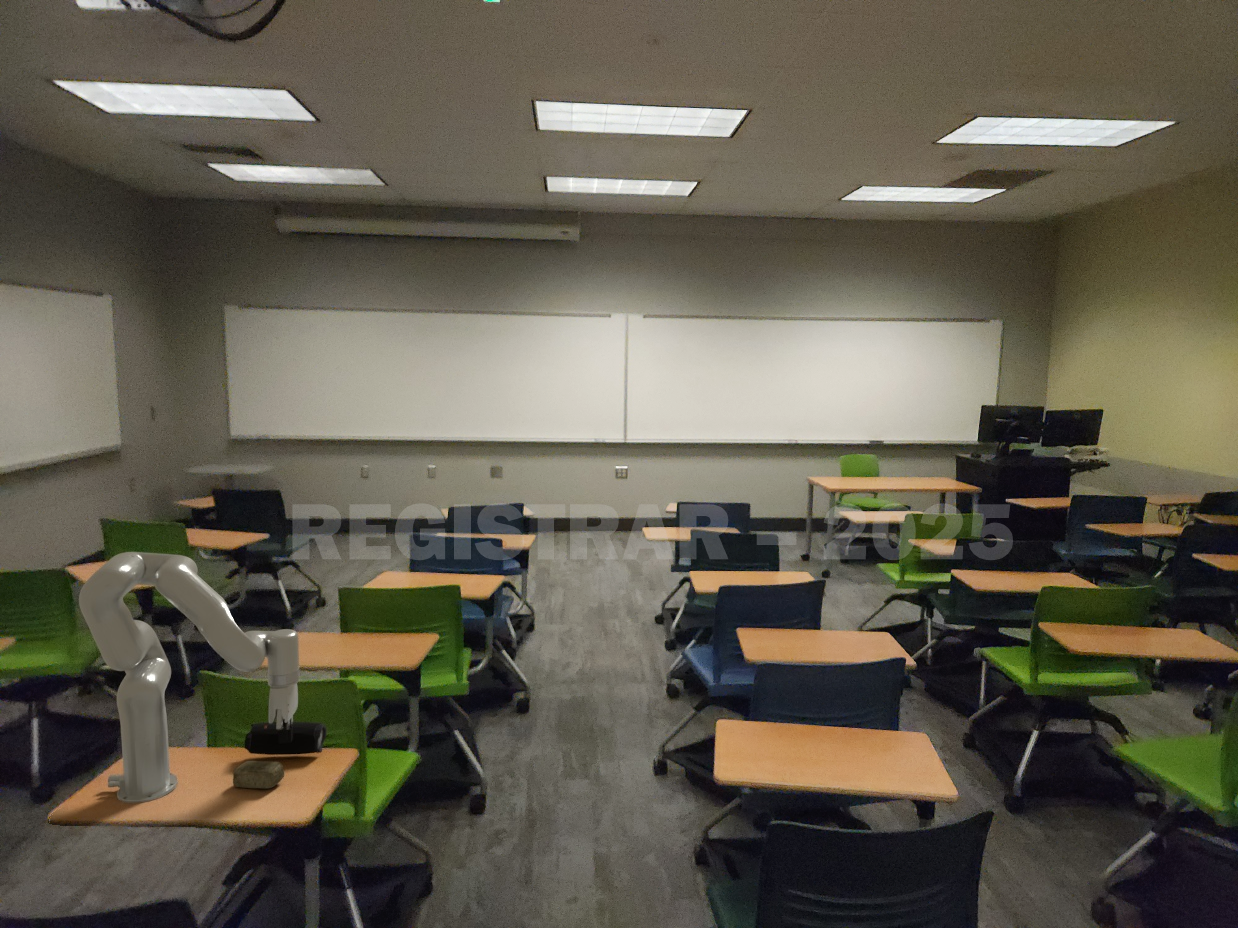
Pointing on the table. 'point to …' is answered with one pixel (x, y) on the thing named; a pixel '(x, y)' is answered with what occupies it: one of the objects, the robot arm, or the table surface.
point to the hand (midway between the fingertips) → (285, 741)
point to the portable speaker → (267, 742)
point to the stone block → (258, 774)
